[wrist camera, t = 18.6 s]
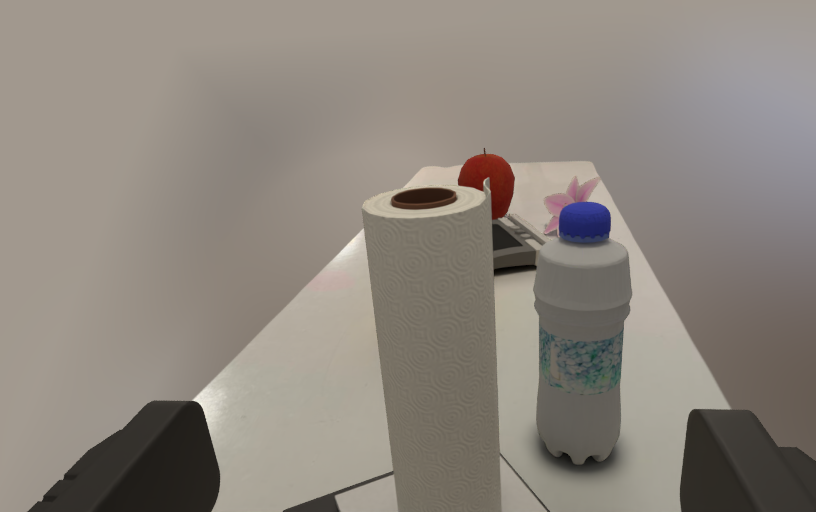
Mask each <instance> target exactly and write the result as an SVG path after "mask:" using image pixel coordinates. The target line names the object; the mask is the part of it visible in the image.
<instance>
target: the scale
mask: <svg viewBox="0 0 816 512" xmlns="http://www.w3.org/2000/svg"><path fill="white" fill-rule="evenodd" d="M500 477H501V507H502V512H550V511H549V510H548V509H547V508H546V506H545V505H544V504H543V503H542V502H541V500H540V499H539V498H538V497H537V496H536V495H535V493H534V492H533V491H532V490H531V489H530V488H529V486H528V485H527V484H526V483H525V482H524V480H523V479H522V478H521V477H520V476H519V475H518V473H517V472H516V471H515V470H514V469H513V468H512V466H511V465H510V464H509V463H508V462H507V460H506V459H505V458H504V457H503V456H502V455H501V453H500ZM283 512H398V504H397V496H396V488H395V479H394V471H392V472H389V473H386V474H383V475H381V476H378V477H375V478H372V479H369V480H367V481H364V482H361V483H358V484H355V485H353V486H350V487H347V488H344V489H342V490H339V491H336V492H333V493H330V494H328V495H325V496H322V497H319V498H316V499H314V500H311V501H308V502H305V503H302V504H300V505H297V506H294V507H291V508H289V509H286V510H283Z"/></svg>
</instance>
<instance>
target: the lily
mask: <svg viewBox="0 0 816 512" xmlns="http://www.w3.org/2000/svg"><path fill="white" fill-rule="evenodd" d="M599 181H600V177H596V178H594V179H591V180H589V181H587V182H585V183H584V184H582V185H581V186H580V187H579V183H578V180H577V177H576V176H574V177H573V179H572V180H571V182H570V184H569V186H568V188H567V191H566V194H565V193H558V194H553V195H550V196H547V197H545V198H544V204H545V206H546V208H547V210H548V211H549V212H550V213H551V214H552V215H554V216H553V217H552V219H551V220H550V222H549V223H548V225H547V227H546V228H545V231H544V234H546V233H549V232H551V231H553V230H555V229H557V235H558V237H560V236H559V216H560V212H561V210H562V209H563V208H564V207H565V206H567V205H569V204H572V203H576V202H587V200H588V198H589V197H590V195H591V193H592V192H593V190H594V189H595V187H596V186H597V184H598V182H599Z"/></svg>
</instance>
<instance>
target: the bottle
mask: <svg viewBox="0 0 816 512" xmlns="http://www.w3.org/2000/svg"><path fill="white" fill-rule="evenodd" d="M610 227H611V217H610V212H609V210H608V209H607V208H606V207H605V206H603V205H601V204H599V203H594V202H576V203H572V204H569V205H567V206H565V207H564V208H563V209H562V210H561V212H560V216H559V236H560V237H558V238H556V239H553V240H551V241H548V242H547V243H545V244H544V245H543V246H542V247H541V249H540V251H539V256H538V263H537V271H536V278H535V283H534V288H533V291H534V294H535V299H536V300H535V303H534V306H535V309H536V311H537V313H538V315H539V386H538V396H537V411H536V420H537V429H538V432H539V435H540V437H541V438H542V439H543V440H544V441H545V444H546V447H547V449H548V451H549V452H550V453H551V454H552V455H553V456H555V457H560V456H561V455H562V454H563V452H564V453H567V454H568V455H569V456H570V457H571V459H572V462H573V463H574V464H576V465H582V464H583V463H584V462H585V460H586V458H587V457H589V456H593V458H594V459H595V460H596V461H599V462H600V461H603V460H604V459H606V458H607V457H608V456H609V454H610V453H611V451H612V448H613V446H614V445H615V443H616V442H617V440H618V437H619V433H620V424H621V404H620V378H621V363H622V347H623V331H624V320H625V319H626V318H627V316H628V315H629V313H630V305H629V302H630V299H631V297H632V288H631V279H630V267H629V256H628V251H627V249H626V248H625V247H624V246H623V245H622V244H620V243H618V242H616V241H614V240H611V239H609V232H610Z"/></svg>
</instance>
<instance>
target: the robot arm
mask: <svg viewBox="0 0 816 512" xmlns="http://www.w3.org/2000/svg"><path fill="white" fill-rule="evenodd" d="M219 487H220V471H219V466H218V463H217V459H216V455H215V452H214V448H213V444H212V441H211V437H210V433H209V429H208V426H207V422H206V418H205V415H204V411H203V409H202V407H201V405H200V404H199V403H197V402H195V401H152V402H150V403H148V404H147V405H146V406H144V407H143V408H142V409H141V411H140V412H139V413H138V414H137V415H136V416H135V417H134V418H133V419H132V420H131V421H130V422H129V423H128V424H127V425H126V426H125V427H124V428H123V429H122V430H119V431H117V432H116V433H114V434H113V435H111V436H110V437H108V438H107V439H105V440H104V441H102V442H101V443H99V444H97V445H96V446H95V447H93V448H91V449H90V450H88V451H87V452H86V453H85V454H84V455H83V456H82V458H80V460H79V461H77V462H76V464H75V465H74V466H73V467H72V468H71V469H70V470H69V471H68V472H67V473H66V474H65V475H64V479H63V480H59V481H58V482H57V483H56V484H55V485H54V486H53V487H52V488H51V489H50V490H49V491H48V492H47V493H46V494H45V495H44V496H43V497H44V498H43V500H42V502H39V501H38V502H37V503H36V504H35V505H34V506H33V507H32V508H31V509H30V510H29V511H28V512H211V511H212V509H213V507H214V505H215V503H216V500H217V497H218V493H219ZM680 503H681V511H682V512H816V461H815V460H813V459H812V458H811V457H809V456H808V455H806V454H805V453H804V452H802V451H801V450H800V449H798V448H797V447H778V446H777V445H776V443H775V442H774V441H773V439H772V438H771V436H770V435H769V434H768V432H767V431H766V429H765V428H764V427H763V425H762V424H761V422H760V421H759V420H758V418H757V417H756V416H755V415H754V414H753V413H752V412H751V411H749V410H714V409H694V410H692V411H691V412H690V414H689V417H688V423H687V431H686V440H685V449H684V458H683V466H682V475H681V484H680Z"/></svg>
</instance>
